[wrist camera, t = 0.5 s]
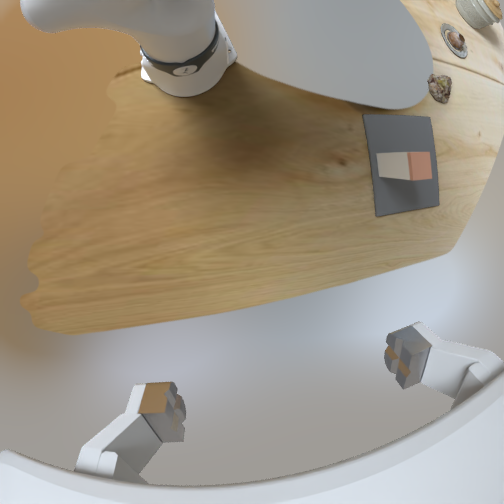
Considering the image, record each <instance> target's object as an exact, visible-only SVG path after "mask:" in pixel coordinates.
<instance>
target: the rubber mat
mask: <svg viewBox="0 0 504 504" xmlns="http://www.w3.org/2000/svg"><path fill="white" fill-rule="evenodd" d="M362 116H363V121H364V126H365V132H366V138H367V144H368V150H369V157H370V165H371V172H372V181H373V191H374V201H375V214H376V216H383V215H388V214H393V213H399V212H404V211H410V210H415V209H421V208H426V207H432V206H438V205H439V186H438V172H437V161H436V152H435V145H434V138H433V131H432V125H431V119H430V117H422V116H407V115H362ZM391 152H430V160H431V170H432V179H424V180H414V181H413V180H405V179H396V178H387V177H379V171H378V163H377V155H376V153H391Z"/></svg>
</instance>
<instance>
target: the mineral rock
mask: <svg viewBox="0 0 504 504" xmlns="http://www.w3.org/2000/svg"><path fill="white" fill-rule="evenodd" d="M427 82H428V84H429V90H430V93H431V94H432V96H434V99H435V100H438V101H440V102H444V103H445V102H447V100H448V98H449V95H450V90H451V84H452V82H451V78H450V77H448V76H445V75H441V76H437V75H436V76H435V75H434V74H432V75H431V76H430V77H429V78H428V80H427Z"/></svg>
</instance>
